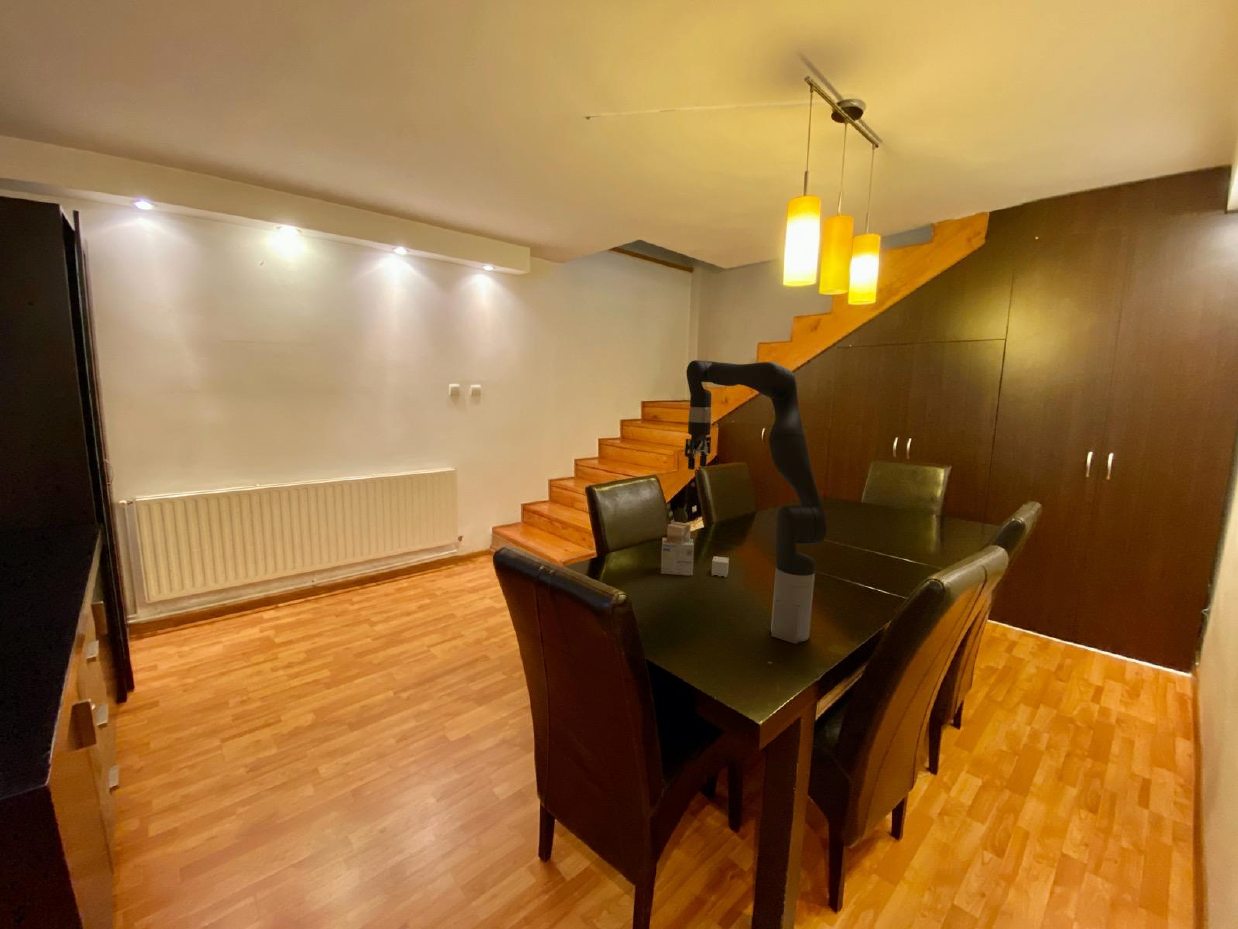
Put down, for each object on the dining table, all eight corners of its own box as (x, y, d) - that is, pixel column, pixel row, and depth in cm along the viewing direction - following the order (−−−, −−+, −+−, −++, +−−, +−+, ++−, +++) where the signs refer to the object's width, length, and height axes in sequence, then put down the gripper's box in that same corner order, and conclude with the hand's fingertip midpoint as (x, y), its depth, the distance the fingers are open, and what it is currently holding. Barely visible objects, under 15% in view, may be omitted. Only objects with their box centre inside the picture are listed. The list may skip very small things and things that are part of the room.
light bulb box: (692, 569, 170) (693, 538, 168) (693, 576, 163) (694, 544, 162) (660, 567, 171) (662, 536, 169) (660, 574, 165) (661, 542, 163)
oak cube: (681, 544, 162) (682, 528, 161) (666, 541, 165) (667, 525, 164) (689, 540, 166) (690, 524, 165) (675, 537, 169) (676, 521, 169)
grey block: (726, 577, 163) (727, 563, 163) (711, 575, 165) (712, 561, 164) (728, 572, 168) (728, 558, 167) (713, 570, 170) (713, 556, 169)
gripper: (699, 422, 160) (697, 471, 163) (719, 420, 172) (716, 466, 174) (679, 420, 165) (677, 469, 167) (699, 419, 176) (697, 464, 179)
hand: (697, 467), depth 171 cm, fingers open, 8 cm apart
